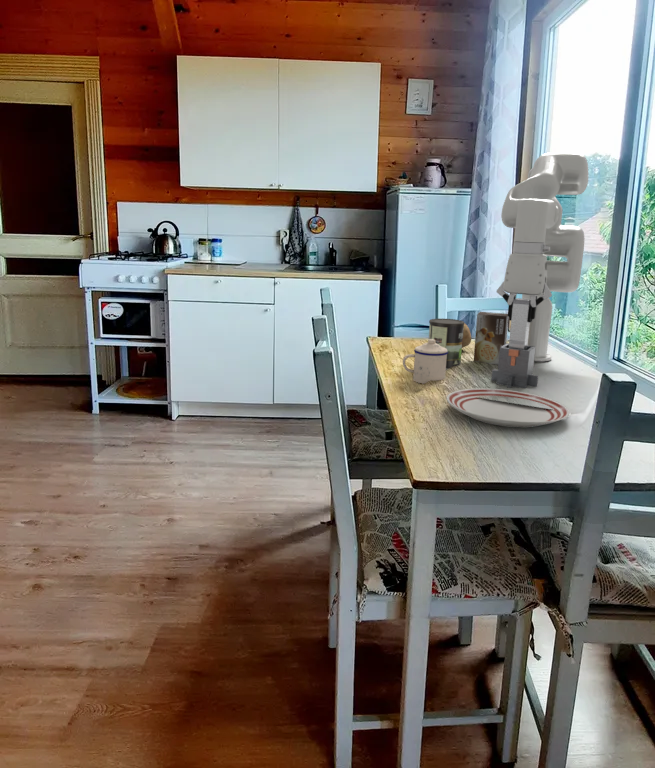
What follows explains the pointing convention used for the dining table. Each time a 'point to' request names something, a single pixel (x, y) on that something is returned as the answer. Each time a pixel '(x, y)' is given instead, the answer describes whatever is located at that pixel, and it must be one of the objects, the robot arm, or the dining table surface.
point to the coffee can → (448, 338)
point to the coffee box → (490, 336)
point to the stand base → (515, 367)
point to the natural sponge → (466, 336)
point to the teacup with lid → (428, 362)
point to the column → (519, 324)
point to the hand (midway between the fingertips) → (520, 320)
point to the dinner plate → (506, 408)
